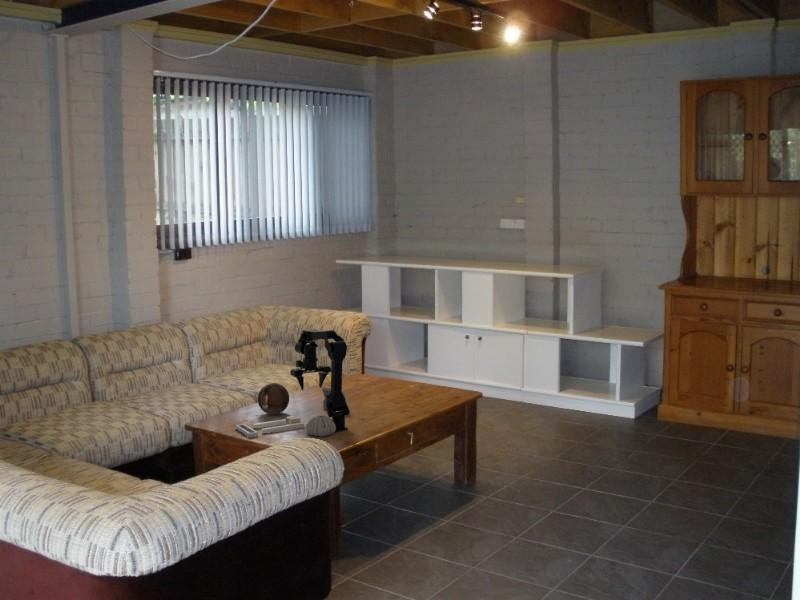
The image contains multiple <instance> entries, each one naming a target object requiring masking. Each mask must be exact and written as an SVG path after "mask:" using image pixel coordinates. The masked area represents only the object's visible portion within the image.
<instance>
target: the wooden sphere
mask: <svg viewBox="0 0 800 600" xmlns="http://www.w3.org/2000/svg"><path fill="white" fill-rule="evenodd" d="M289 403H290V394H289V391H288V389H287V388H286V386H284V385H283V384H280V383H276V382H271V383H270V382H269V383H267V384H265V385H264V386H262V388H261V389H260V390H259V391H258V395H257V404H258V406H259V408H260V410H262V412H264V413H266V414H268V415H275V416H276V415H279V414H281V413H283V412H284V411H285V410H287V408H288V406H289Z"/></svg>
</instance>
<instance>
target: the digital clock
mask: <svg viewBox="0 0 800 600" xmlns="http://www.w3.org/2000/svg"><path fill="white" fill-rule="evenodd" d="M321 390H322V393H323V396H324V399H323V403H322V404H323V410H325V409H326V396H327V395H328V394H330V392H331V386H324V385H323V386H322V387H321ZM342 394H343V395H344V397H345V402H346V404H347V406H348V408H349V409H350V407H349V404H348V401H347V397H346V395H345V392H344V391H343V390H342ZM326 411H327V409H326Z"/></svg>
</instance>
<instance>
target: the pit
mask: <svg viewBox="0 0 800 600" xmlns="http://www.w3.org/2000/svg"><path fill="white" fill-rule="evenodd" d="M243 428H244V429H243ZM236 429H237V430H239V431H240V432H242V433H243V434H242V433H241V434H242V435H244V434H245V435H246V436H245V435H244V436H245V437H247V436H248V437H253V438H256V437H255V436H258V437H259V433H258V431H256V429H254V428H252V427H250V426H248V425H246V424H245V423H242V424H235V430H236ZM237 430H236V431H237ZM246 430H247V431H246ZM239 431H238V432H239ZM248 431H249V432H248ZM240 432H239V433H240ZM248 437H247V438H248Z"/></svg>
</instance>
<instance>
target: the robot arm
mask: <svg viewBox="0 0 800 600" xmlns="http://www.w3.org/2000/svg"><path fill="white" fill-rule="evenodd" d="M319 340H324V347H325V349H326V351H327V356H328V358H329V359H330V361H331V363H330V365H331V366H329V365H328V364H327V365H326V364H324V365H323V364H322V365H318V361H319V359H318V358H317V356H318V355H317V348H319V346H318V344H317V343H316V342H318V341H319ZM329 340H334V341H329ZM294 351H295V352H296V353H297V354H300V355H303V356H304V357H303V358H302V360H299V359H297V360H296V361H295V367H296V368H291V369H290V376H292V377H294V378H295V379H296V380H297V381H298V384H299V386H300V389H301V391H304V388H305V387H304V385H305V384H304V383H305V381H304V380H305V379H304V378H305V377H304V376H303V375H304V374H312V373H318V380H319V381H318V385H319V387H318V388H319V389H322V388H323V384H324V381H326V378H327V376H328V375H330V388H331V392H330V394H328V395H327V396H326V409H327V410H326V412H327V413H326V414H327V417H330V418H331V419H332V420H333V422H334V423H335V424H336V425H335V426H336V430H335V432H339V431H343V430H348V429H349V428H348V427H347V426H346V416H349V415H350V407H349V408H348V406H349V405H348V406H347V404H348V403H347V404H346V402H345V398H346V396H345V397H344V395H345V394H344V395H343V394H342V391H343V361H344V359H345V358H346V356H347V351H348V345H347V343H346V342H345V340H344V338H343V337H342V336H340V335H339V334H338V333H336V331H335V330H334V329H329V330H321V331H320V330H319V329H316V328H312V329H304V330H302V332H301V333H300V335H299V338H298V339H297V342H296V343H295V345H294ZM336 411H339V412H336Z"/></svg>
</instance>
